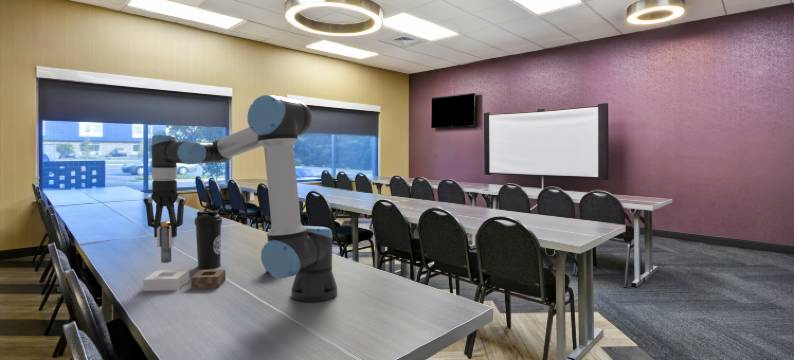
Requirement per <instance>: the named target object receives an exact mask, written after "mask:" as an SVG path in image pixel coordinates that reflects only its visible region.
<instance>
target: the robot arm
mask: <svg viewBox="0 0 794 360" xmlns="http://www.w3.org/2000/svg"><path fill="white" fill-rule="evenodd" d="M246 118H247V124H248V126H249V127H246V128H244V129H241V130H237V131H236V132H234V133H233V132H232V133H231V134H229V135H226V136H224V137H221V138H218V139H217V140H213V141H194V140H187V141H186V140H185V141H184V140H183V141H179V140H177V137H176V136H175V135H173V134H172V135H171V134H169V135H168V134H167V135H166V134H164V135H163V134H154V135H152V137H151V145H150V148H151V151H150V152H151V178H152V179H153V180H152V181H151V185H152V186H151V187H152V188H151V189H152V193H151V195H150V196H149V197H146V198H143V200H142V201H143V203H144V205H145V210H146V220H147V226H148V227H151V228H153V231H154V232H153V233H154V234H153V237H154V238H156V244H157V245H156V247H157V248H161V234H160V222H162V218H163V217H162V215H163V209H164V207H166V210H167V213H168V219H169V222H170V224H171V227H170V228H169V247H171V248H172V247H174V246H175V238H176V237H177V236H178V227H180V226H182V225H183V224H184V213H185V212H184V210H185V203H186V202H187V199H186V197H181V196H179V193H178V181H177V180H176V179H178V173H177V172H178V171H177V167H178V166H177V164H185V165H197V164H214V163H215V164H216V163H217V164H222V163H227V162H229V161H231V159H232V158H233V157H235V156H239V155H241V154H244V153H246V152H250V151H252V150H255V149H257V148H260V147H262V148H263V149H264V150H263V151H264V152H263V153H264V159H265V172H266V179H267V180H266V182H267V191H268V192H267V193H268V202H269V210H270V211H269V213H270V223H271V228H269V230H268V232H266V235H267V243H265V244H264V245H263V247H262V249H261V251H260V259H261V262H262V266H263V268H264V269H265V271H266V270H267V271H268V272H270V273H269V274H270V276H272V277H275V278H277V279H287V278H289V277H294V276H295V277H294V280H293V284H292V286H291V292H290V293H291V294H290V296H291V298H292V299H293V300H296V301H298V302H304V303H305V302H307V303H318V302H319V303H320V302H324V301H329V300H332V299H333V298H335V297H336V296H337V294H338V286H337V282H336V280H335V277H334V274H333V273H334V272H333V232H332V229H331V228H329V227H325V226H318V225H317V226H314V225H303V224H302V222H301V221H302V220H301V211H300V201H299V190H298V181H297V168H296V160H295V159H296V158H295V149H294V145H296V143H297V142H298V141H299V137H300V136H302V135H304V134H305V133H307V131H309V130H310V128H311V125H312V123H313V121H312V120H313V116H312V112H311V110H310V108H309V106H307V104H306V103H304V102H302V101H300V100H298V99H294V98H293V99H292V98H287V97H284V96H280V95H276V94H274V95H273V94H272V95H271V94H263V95H260V96H258V97H257V98H256V99H254V100H253V102H252V103H251V104H250V106H249V108H248V110H247V116H246ZM176 201H177V213H176V212H175V203H176ZM153 202H154V203H155V204H156V205H155V213H154V207H153V206H154V205H153Z"/></svg>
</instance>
